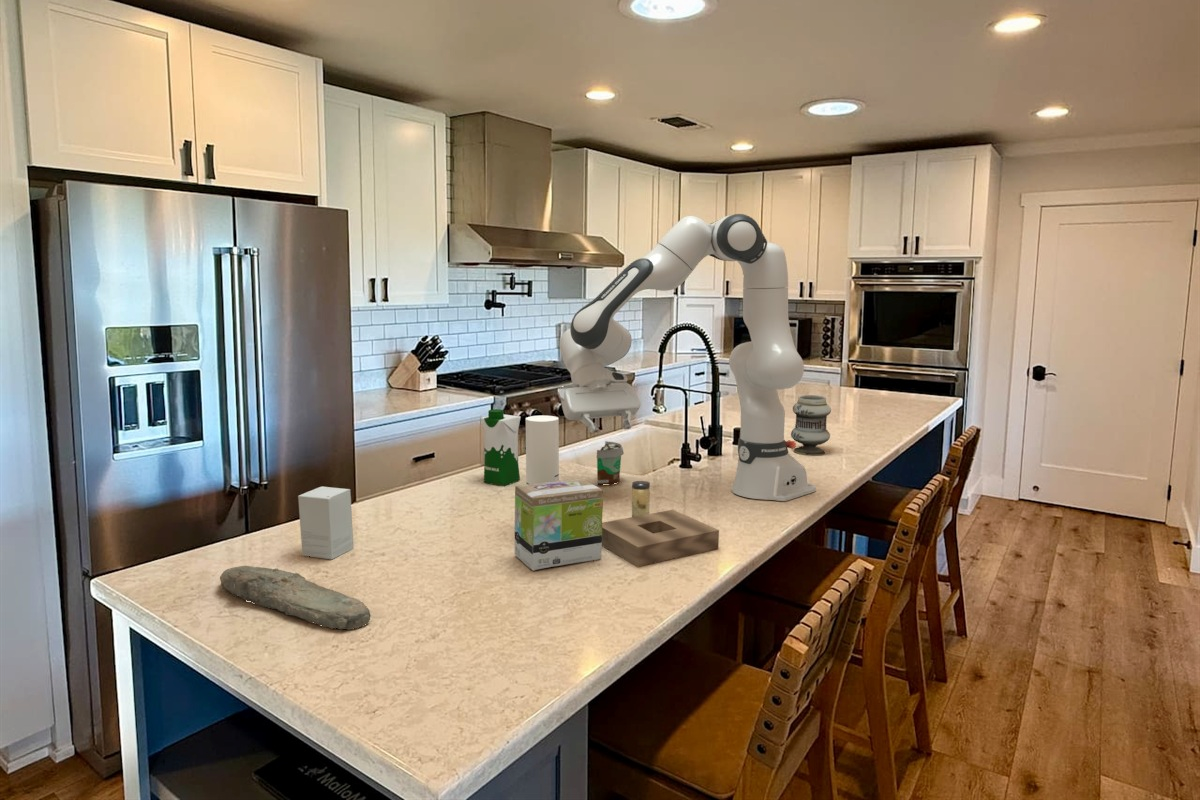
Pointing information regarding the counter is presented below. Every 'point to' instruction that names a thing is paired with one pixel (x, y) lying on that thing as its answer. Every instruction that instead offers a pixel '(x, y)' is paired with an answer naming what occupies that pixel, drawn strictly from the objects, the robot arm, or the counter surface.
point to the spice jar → (640, 498)
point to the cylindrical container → (542, 449)
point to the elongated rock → (295, 596)
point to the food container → (609, 463)
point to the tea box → (558, 523)
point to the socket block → (658, 537)
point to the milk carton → (500, 447)
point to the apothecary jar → (811, 424)
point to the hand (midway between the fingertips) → (612, 429)
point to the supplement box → (326, 522)
